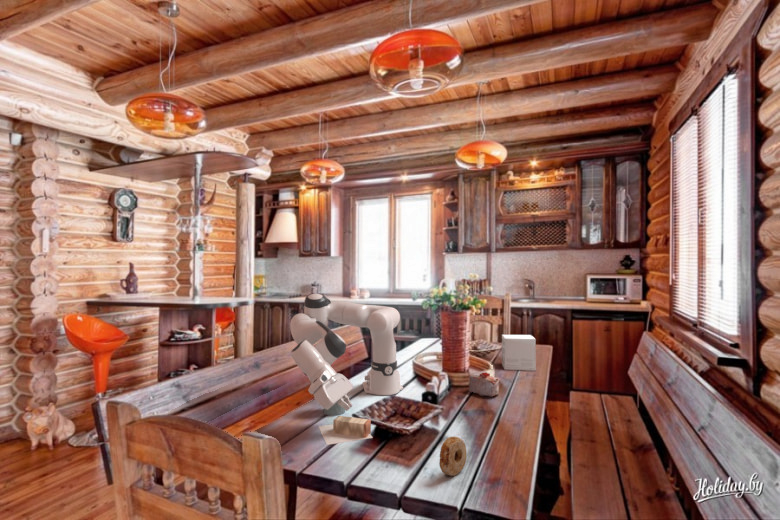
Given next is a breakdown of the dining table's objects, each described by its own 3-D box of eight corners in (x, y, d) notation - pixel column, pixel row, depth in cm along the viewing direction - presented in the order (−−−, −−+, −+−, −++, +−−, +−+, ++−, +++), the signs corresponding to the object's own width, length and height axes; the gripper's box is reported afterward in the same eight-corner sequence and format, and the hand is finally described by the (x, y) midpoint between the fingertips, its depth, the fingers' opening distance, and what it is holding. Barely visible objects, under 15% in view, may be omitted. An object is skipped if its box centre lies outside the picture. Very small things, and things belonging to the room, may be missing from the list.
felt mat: (318, 427, 150) (318, 426, 150) (360, 421, 156) (360, 420, 156) (326, 445, 135) (326, 444, 135) (372, 438, 141) (372, 437, 141)
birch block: (333, 420, 144) (366, 424, 141) (338, 415, 149) (370, 419, 145) (333, 433, 144) (366, 437, 141) (338, 428, 149) (370, 432, 145)
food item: (501, 394, 188) (501, 373, 188) (494, 399, 182) (494, 377, 182) (474, 389, 196) (474, 368, 196) (467, 393, 190) (467, 372, 190)
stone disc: (448, 482, 113) (448, 446, 113) (437, 477, 116) (437, 442, 116) (469, 468, 121) (469, 435, 121) (458, 464, 123) (458, 431, 123)
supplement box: (531, 365, 241) (531, 334, 241) (536, 371, 228) (536, 338, 228) (501, 364, 243) (501, 333, 244) (504, 370, 230) (504, 338, 230)
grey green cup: (319, 417, 160) (319, 386, 160) (324, 407, 170) (324, 379, 170) (345, 417, 160) (345, 386, 160) (348, 408, 170) (348, 379, 170)
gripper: (331, 376, 158) (354, 404, 155) (305, 392, 139) (332, 424, 136) (342, 365, 157) (365, 393, 154) (317, 380, 137) (344, 412, 135)
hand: (349, 408), depth 145 cm, fingers closed
